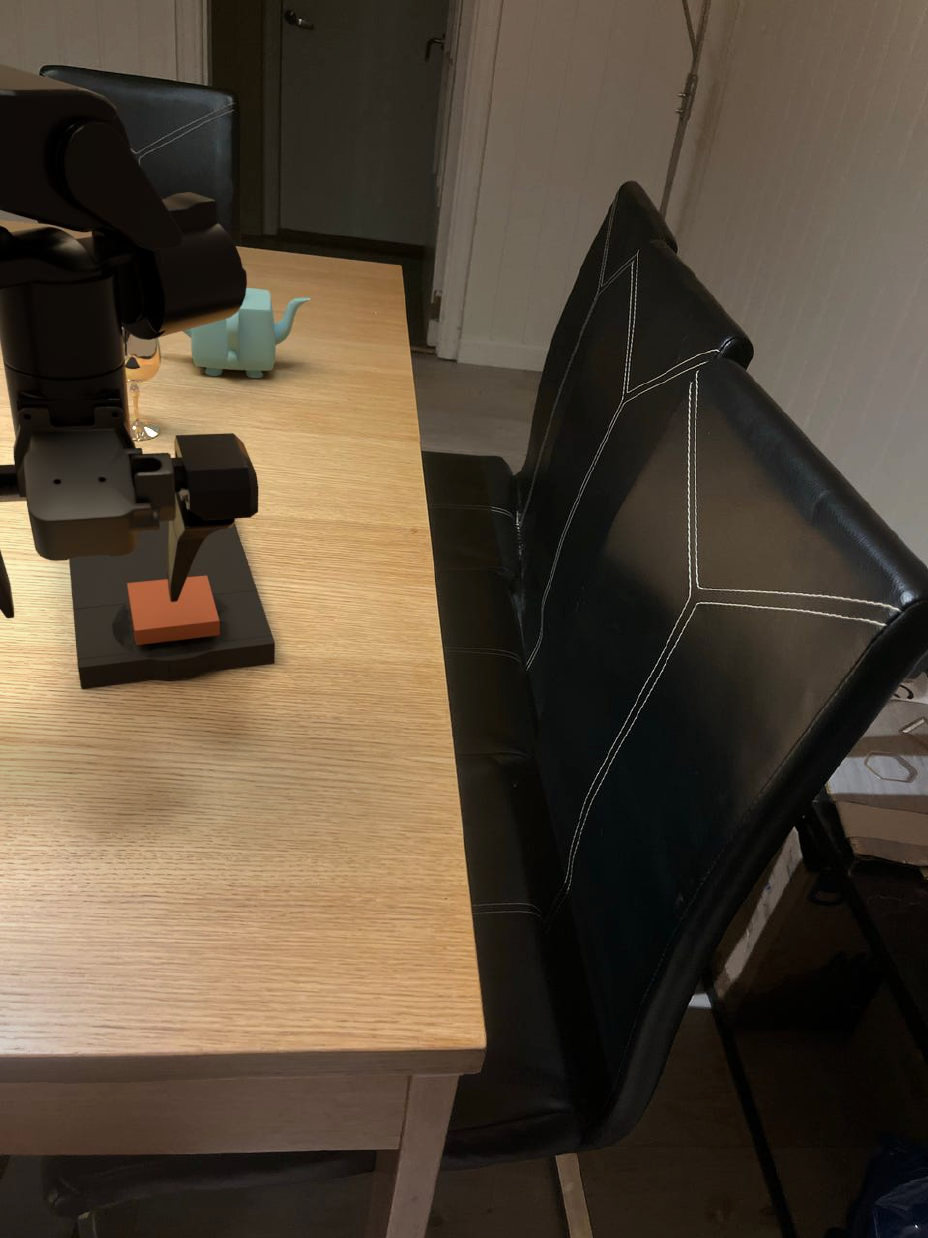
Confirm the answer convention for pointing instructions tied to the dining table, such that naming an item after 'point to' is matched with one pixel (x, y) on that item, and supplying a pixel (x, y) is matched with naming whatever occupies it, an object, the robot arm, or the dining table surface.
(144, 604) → the reddish orange rectangular block
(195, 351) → the teapot
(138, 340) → the wineglass
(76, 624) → the back pad
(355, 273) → the dining table surface
